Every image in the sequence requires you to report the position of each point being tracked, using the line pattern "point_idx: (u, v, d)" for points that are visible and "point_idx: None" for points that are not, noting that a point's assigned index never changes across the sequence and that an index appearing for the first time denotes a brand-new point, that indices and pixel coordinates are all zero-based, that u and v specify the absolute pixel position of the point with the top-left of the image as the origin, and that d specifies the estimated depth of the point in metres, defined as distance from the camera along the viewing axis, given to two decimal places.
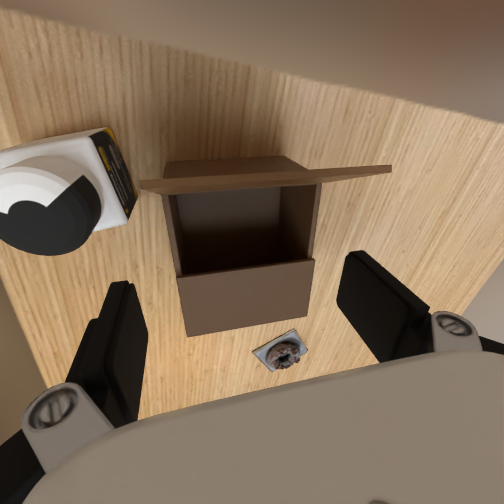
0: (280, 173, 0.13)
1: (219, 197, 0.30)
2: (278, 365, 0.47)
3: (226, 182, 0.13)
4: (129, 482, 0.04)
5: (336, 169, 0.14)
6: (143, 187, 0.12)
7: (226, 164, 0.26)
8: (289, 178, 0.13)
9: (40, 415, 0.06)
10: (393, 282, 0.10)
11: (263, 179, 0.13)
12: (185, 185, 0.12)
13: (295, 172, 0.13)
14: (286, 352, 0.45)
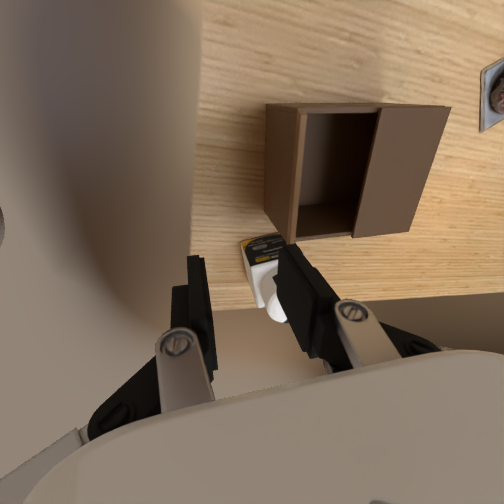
0: (293, 215, 0.19)
1: None
2: None
3: None
4: (129, 482, 0.04)
5: (296, 171, 0.17)
6: None
7: (270, 172, 0.31)
8: (297, 208, 0.18)
9: (168, 348, 0.07)
10: (309, 272, 0.10)
11: (295, 227, 0.19)
12: None
13: (294, 205, 0.18)
14: None
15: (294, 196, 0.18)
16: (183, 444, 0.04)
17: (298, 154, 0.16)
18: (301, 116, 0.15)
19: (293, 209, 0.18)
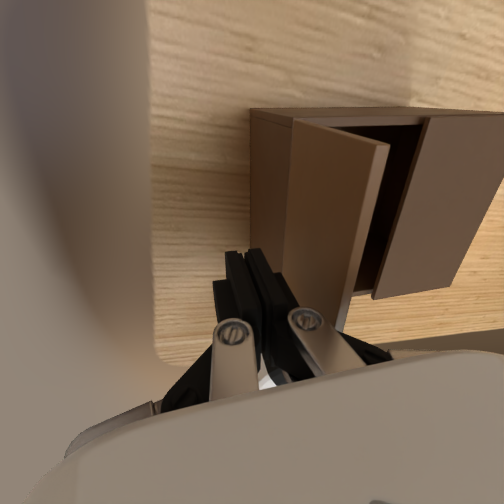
0: (336, 327, 0.10)
1: None
2: None
3: None
4: (129, 482, 0.04)
5: (352, 258, 0.08)
6: None
7: (257, 204, 0.22)
8: (345, 316, 0.10)
9: (225, 337, 0.08)
10: (268, 278, 0.10)
11: None
12: None
13: (340, 312, 0.09)
14: None
15: (342, 298, 0.09)
16: (183, 444, 0.04)
17: (360, 226, 0.08)
18: (377, 148, 0.06)
19: (338, 318, 0.09)
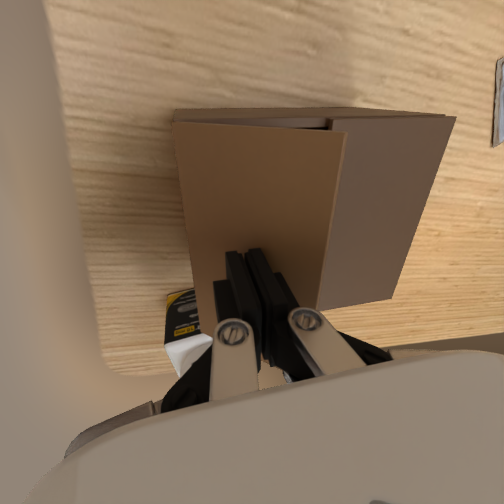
0: (319, 288, 0.12)
1: None
2: None
3: None
4: (129, 482, 0.04)
5: (330, 226, 0.10)
6: None
7: None
8: None
9: (225, 337, 0.08)
10: (268, 278, 0.10)
11: (318, 301, 0.12)
12: None
13: (322, 275, 0.11)
14: None
15: (323, 263, 0.11)
16: (183, 444, 0.04)
17: (335, 199, 0.09)
18: (345, 136, 0.08)
19: (320, 281, 0.11)
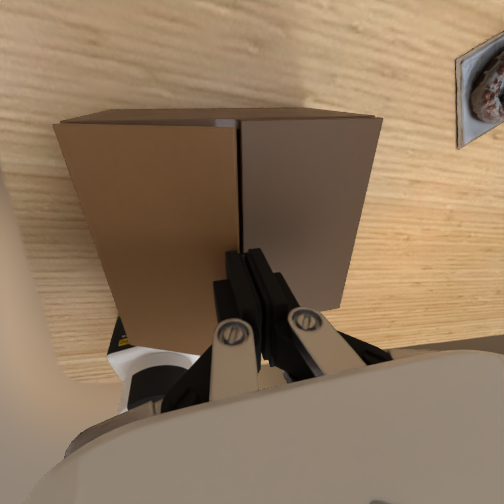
0: None
1: None
2: None
3: None
4: (129, 482, 0.04)
5: (236, 214, 0.11)
6: None
7: None
8: None
9: (225, 337, 0.08)
10: (268, 278, 0.10)
11: None
12: None
13: None
14: (498, 84, 0.23)
15: (237, 248, 0.12)
16: (183, 444, 0.04)
17: (236, 189, 0.10)
18: (234, 131, 0.09)
19: None
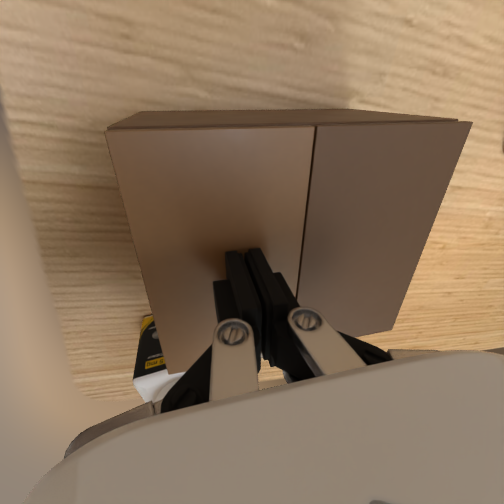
0: (298, 265, 0.13)
1: None
2: None
3: None
4: (129, 482, 0.04)
5: (305, 208, 0.12)
6: None
7: None
8: None
9: (225, 337, 0.08)
10: (268, 278, 0.10)
11: None
12: None
13: (300, 251, 0.13)
14: None
15: (301, 241, 0.12)
16: (183, 444, 0.04)
17: (307, 184, 0.11)
18: (313, 129, 0.10)
19: (299, 257, 0.13)
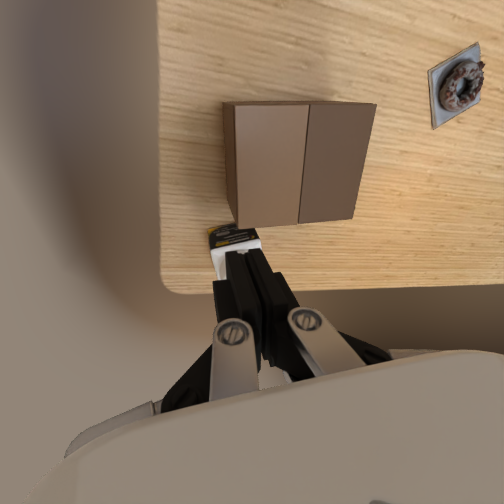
0: (302, 170, 0.29)
1: None
2: (470, 96, 0.38)
3: None
4: (129, 482, 0.04)
5: (305, 140, 0.28)
6: None
7: (227, 164, 0.35)
8: None
9: (225, 337, 0.08)
10: (268, 278, 0.10)
11: None
12: None
13: None
14: (454, 86, 0.36)
15: (303, 157, 0.28)
16: (183, 444, 0.04)
17: (306, 129, 0.27)
18: (308, 106, 0.26)
19: (302, 166, 0.29)
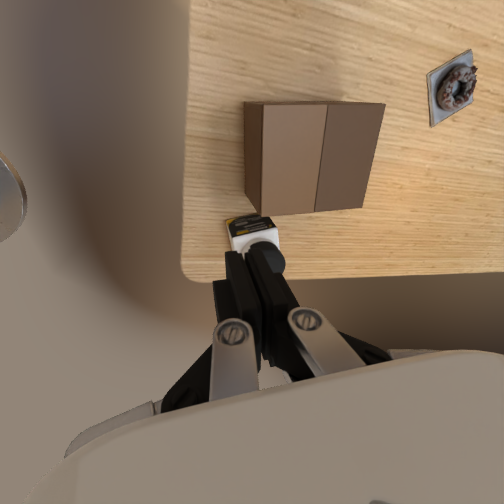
0: (319, 162, 0.33)
1: None
2: (464, 97, 0.42)
3: None
4: (129, 482, 0.04)
5: (323, 136, 0.31)
6: None
7: (248, 159, 0.38)
8: None
9: (225, 337, 0.08)
10: (268, 278, 0.10)
11: None
12: None
13: (320, 156, 0.32)
14: (450, 88, 0.40)
15: (321, 151, 0.32)
16: (183, 444, 0.04)
17: (324, 126, 0.30)
18: (327, 105, 0.29)
19: None
